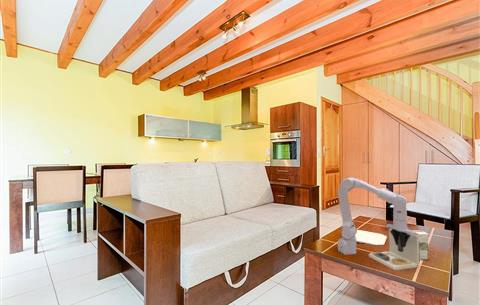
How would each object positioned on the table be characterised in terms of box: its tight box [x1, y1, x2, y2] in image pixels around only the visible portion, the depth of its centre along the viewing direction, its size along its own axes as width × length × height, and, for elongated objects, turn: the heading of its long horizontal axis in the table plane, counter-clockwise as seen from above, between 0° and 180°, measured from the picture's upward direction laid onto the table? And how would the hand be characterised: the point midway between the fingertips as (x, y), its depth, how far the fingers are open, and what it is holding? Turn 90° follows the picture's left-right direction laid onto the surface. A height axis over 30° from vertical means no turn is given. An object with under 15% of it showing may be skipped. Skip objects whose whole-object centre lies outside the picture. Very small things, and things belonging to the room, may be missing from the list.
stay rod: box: [398, 236, 403, 252], centre depth 117 cm, size 2×2×7 cm
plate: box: [341, 229, 388, 246], centre depth 157 cm, size 25×25×2 cm
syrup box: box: [413, 230, 429, 261], centre depth 127 cm, size 6×6×14 cm
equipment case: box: [368, 228, 420, 271], centre depth 120 cm, size 15×16×16 cm
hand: (400, 245), depth 117 cm, fingers closed on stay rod, 2 cm apart
